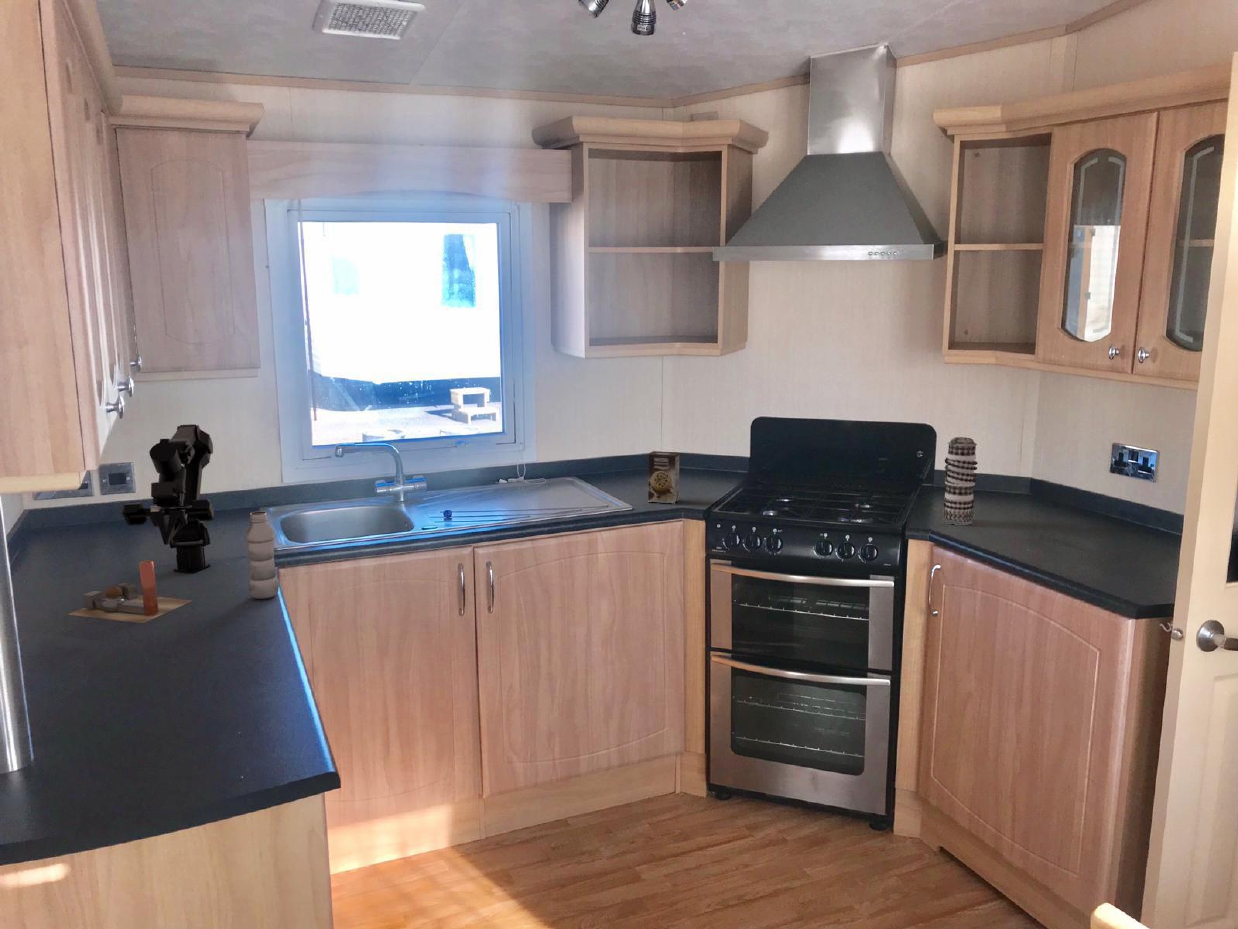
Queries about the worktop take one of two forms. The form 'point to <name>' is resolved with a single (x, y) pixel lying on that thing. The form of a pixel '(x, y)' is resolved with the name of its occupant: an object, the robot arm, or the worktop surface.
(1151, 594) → the worktop surface
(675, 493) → the cookie box
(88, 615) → the wooden board
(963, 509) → the decorative candle
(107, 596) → the walnut
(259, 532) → the plastic bottle
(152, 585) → the lever
